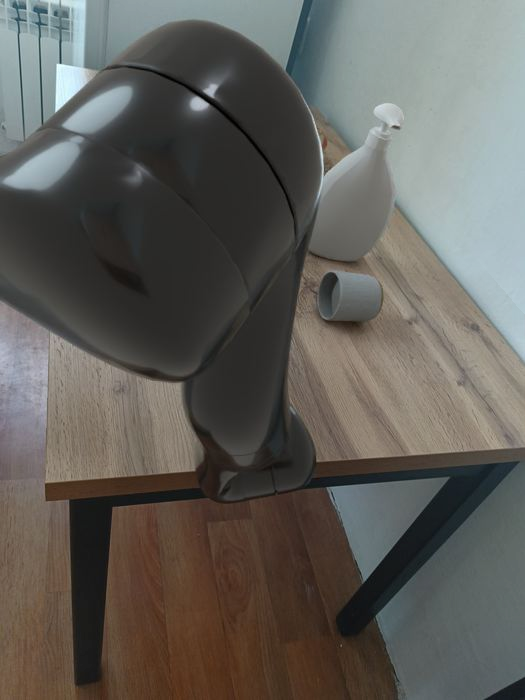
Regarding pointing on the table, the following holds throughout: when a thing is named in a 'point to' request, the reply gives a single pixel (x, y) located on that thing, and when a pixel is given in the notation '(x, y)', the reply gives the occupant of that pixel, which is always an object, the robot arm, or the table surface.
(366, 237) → the soap bottle
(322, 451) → the table surface
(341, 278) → the ceramic mug
